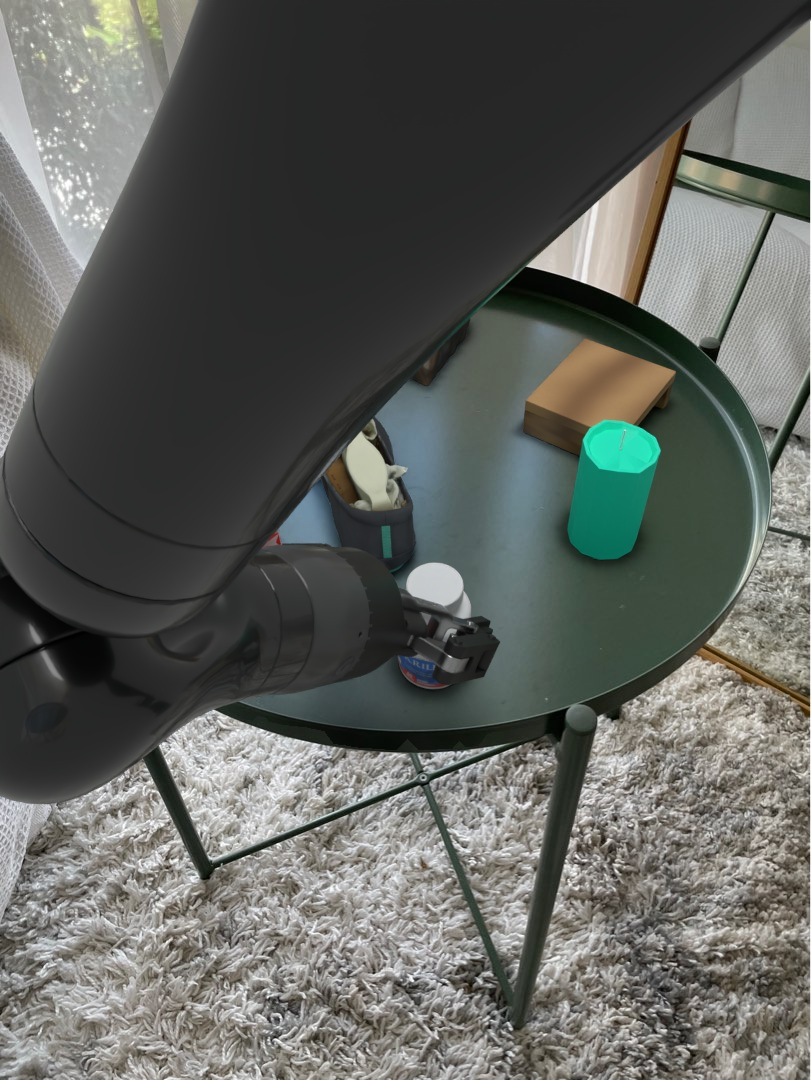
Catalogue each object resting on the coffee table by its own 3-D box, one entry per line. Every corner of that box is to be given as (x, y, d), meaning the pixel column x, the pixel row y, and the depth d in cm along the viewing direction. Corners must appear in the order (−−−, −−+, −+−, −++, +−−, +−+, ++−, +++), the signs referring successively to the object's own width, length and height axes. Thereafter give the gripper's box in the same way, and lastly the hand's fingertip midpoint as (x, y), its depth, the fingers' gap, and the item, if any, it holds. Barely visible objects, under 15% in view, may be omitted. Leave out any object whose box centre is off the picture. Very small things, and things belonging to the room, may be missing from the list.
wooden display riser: (668, 403, 84) (676, 371, 81) (614, 471, 77) (621, 439, 74) (579, 369, 88) (584, 337, 85) (522, 431, 81) (525, 400, 78)
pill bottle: (397, 691, 62) (391, 615, 55) (399, 632, 66) (394, 553, 59) (469, 692, 62) (473, 615, 55) (468, 633, 66) (471, 554, 58)
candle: (555, 518, 74) (572, 414, 65) (616, 502, 75) (641, 398, 66) (585, 567, 70) (607, 464, 61) (649, 550, 71) (679, 446, 62)
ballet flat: (364, 397, 86) (358, 330, 79) (441, 567, 70) (442, 500, 64) (285, 415, 84) (274, 348, 78) (348, 592, 69) (339, 527, 63)
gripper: (445, 615, 40) (541, 601, 54) (231, 496, 46) (369, 513, 60) (385, 749, 41) (494, 700, 56) (184, 617, 47) (331, 604, 61)
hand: (429, 603), depth 58 cm, fingers open, 8 cm apart
